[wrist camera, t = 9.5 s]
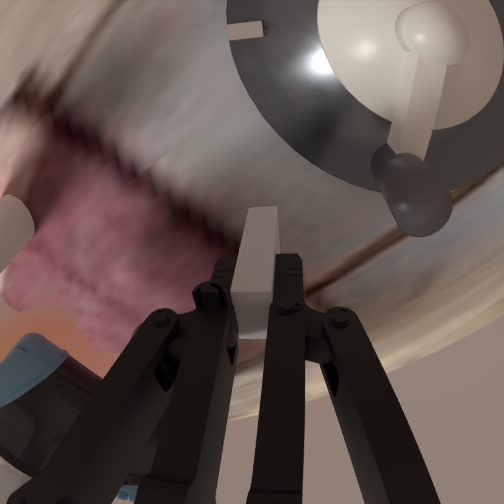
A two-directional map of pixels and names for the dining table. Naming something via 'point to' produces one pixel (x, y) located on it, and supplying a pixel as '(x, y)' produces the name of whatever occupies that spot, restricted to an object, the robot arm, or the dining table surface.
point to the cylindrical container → (13, 228)
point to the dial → (414, 85)
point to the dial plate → (342, 99)
